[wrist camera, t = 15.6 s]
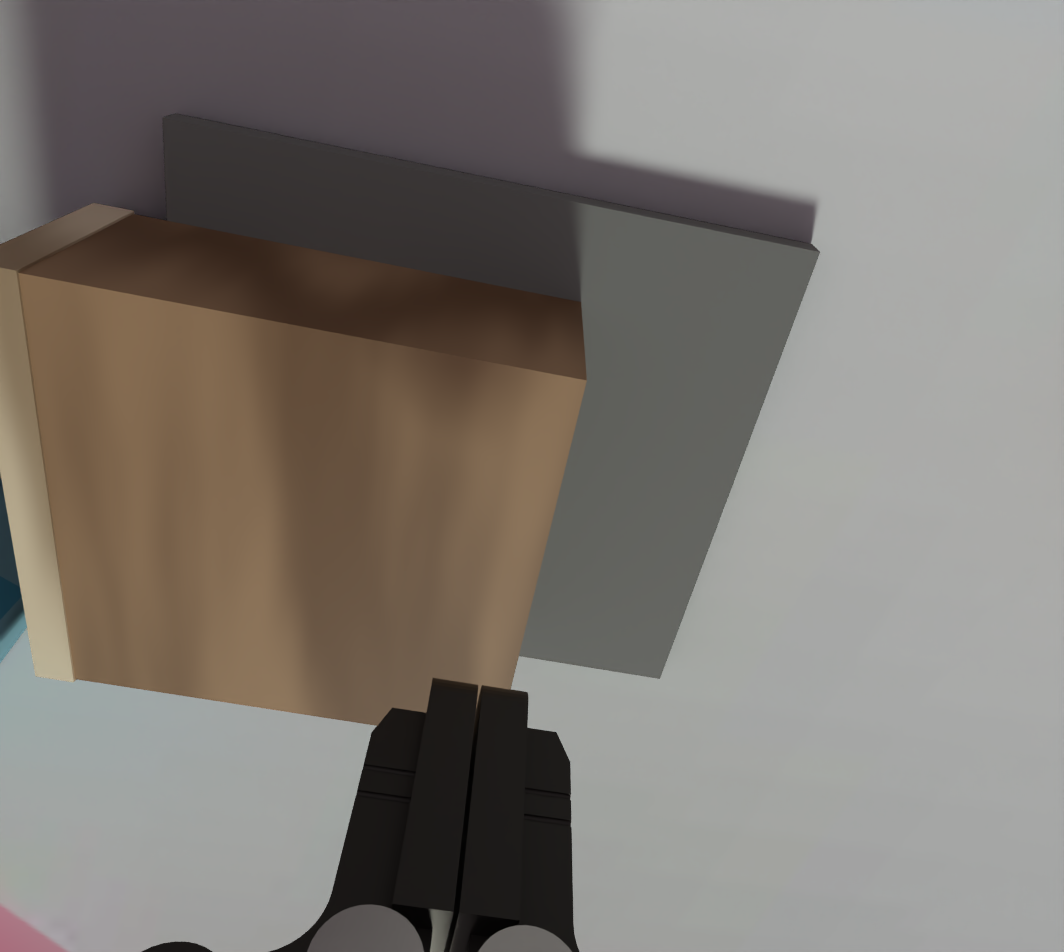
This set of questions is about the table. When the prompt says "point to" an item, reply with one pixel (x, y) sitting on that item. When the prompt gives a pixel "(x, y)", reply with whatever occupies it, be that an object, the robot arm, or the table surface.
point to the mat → (609, 340)
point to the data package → (9, 587)
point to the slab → (275, 464)
